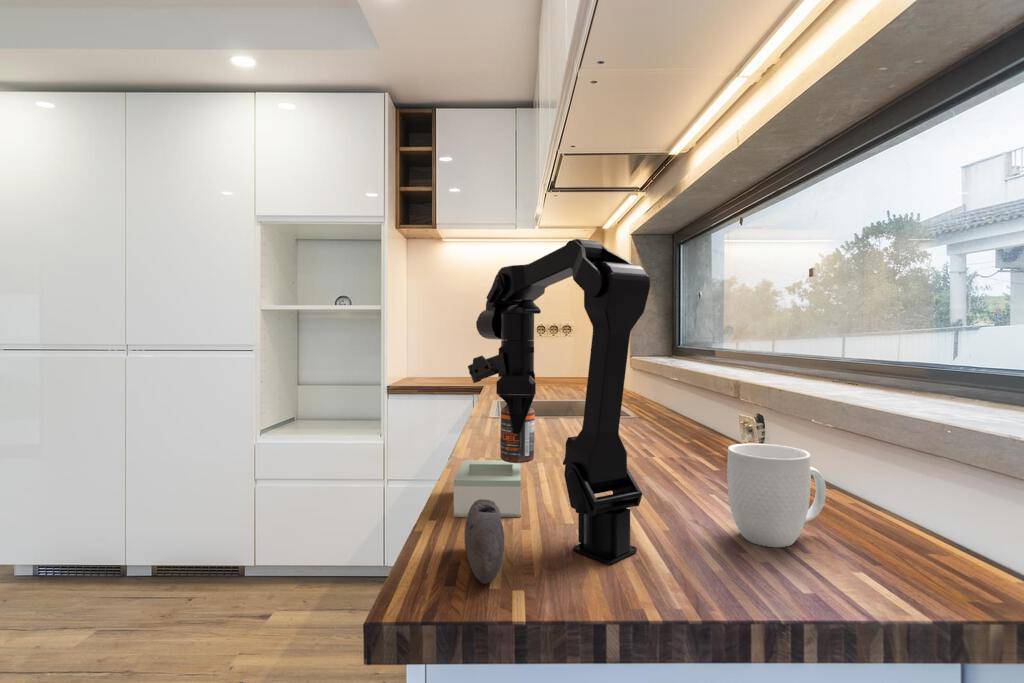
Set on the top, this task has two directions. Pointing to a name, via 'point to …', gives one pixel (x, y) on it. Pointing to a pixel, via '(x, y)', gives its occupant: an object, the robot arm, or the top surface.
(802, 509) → the mug
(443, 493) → the top surface
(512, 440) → the supplement bottle
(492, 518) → the perforated stone tool
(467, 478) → the green and cream box
